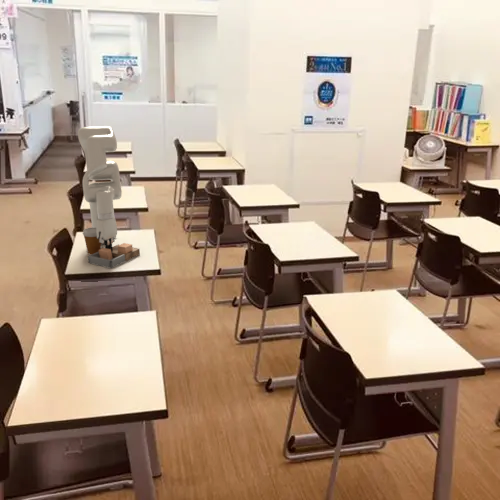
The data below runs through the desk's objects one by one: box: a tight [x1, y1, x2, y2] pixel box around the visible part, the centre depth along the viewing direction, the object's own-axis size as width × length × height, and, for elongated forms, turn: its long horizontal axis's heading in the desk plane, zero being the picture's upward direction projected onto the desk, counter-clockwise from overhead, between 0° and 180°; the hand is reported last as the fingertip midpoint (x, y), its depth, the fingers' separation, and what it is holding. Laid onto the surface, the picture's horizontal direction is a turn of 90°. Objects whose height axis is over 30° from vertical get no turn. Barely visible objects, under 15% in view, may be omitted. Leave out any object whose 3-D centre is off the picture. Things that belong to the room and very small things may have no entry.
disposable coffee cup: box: [82, 227, 102, 255], centre depth 270 cm, size 10×10×12 cm
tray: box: [87, 252, 126, 269], centre depth 260 cm, size 10×14×4 cm
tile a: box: [99, 247, 113, 260], centre depth 261 cm, size 5×5×3 cm
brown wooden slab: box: [111, 244, 140, 262], centre depth 269 cm, size 11×14×3 cm
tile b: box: [118, 242, 133, 253], centre depth 266 cm, size 5×5×3 cm
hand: (109, 251), depth 264 cm, fingers closed
